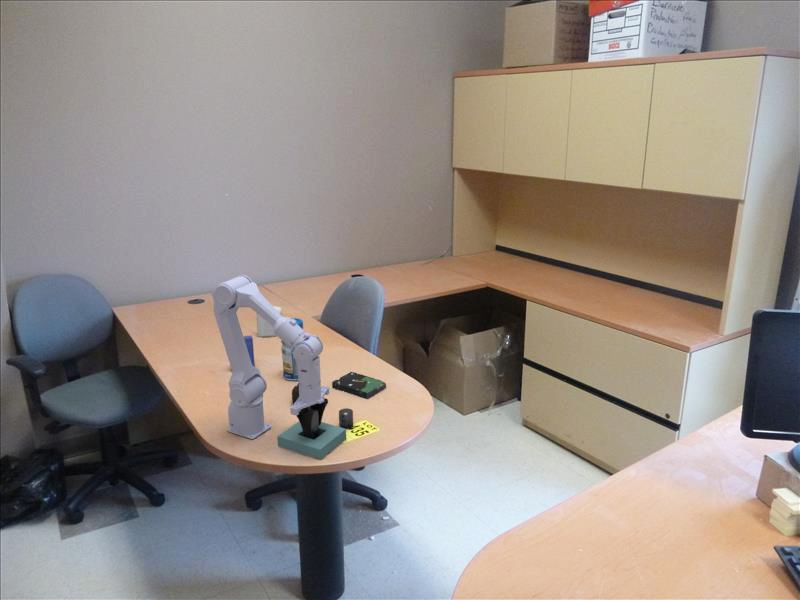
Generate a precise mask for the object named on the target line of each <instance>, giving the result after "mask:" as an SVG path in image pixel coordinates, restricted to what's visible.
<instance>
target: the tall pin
mask: <svg viewBox="0 0 800 600" xmlns="http://www.w3.org/2000/svg"><path fill="white" fill-rule="evenodd" d="M308 408H309V410H312V411H314V413H313V416H312V421H311V432H310V433H307V432H304V437H307V438H310V439H313V440H315V439H316V438H317V437H319V416H318V408H317V407H314V406H309V407H308Z"/></svg>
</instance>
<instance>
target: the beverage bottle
mask: <svg viewBox="0 0 800 600" xmlns="http://www.w3.org/2000/svg"><path fill="white" fill-rule="evenodd" d="M290 318H291V319H294V320H295V321H296V324H297V325H299V326H300V327H301V328H302V329H303V330H304V321H303V319H301V318H297V317H293V318H292V317H290ZM280 341H281V342H280V343H282V345H281V346H280V347H281V348H280V349H281V357H282V370H283V373H282V374H283V378H284V379H285V380H287V381H292V382H293V381H296V382H297V381H299V379H298V367H297V361H296V360H295V359H294V357H293V354H292V352H293V350H292V349H291V348H289V347H288V346H287V345H286V344H285V343H284V342H283V341H282V340H281V339H280Z"/></svg>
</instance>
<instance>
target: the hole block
mask: <svg viewBox="0 0 800 600" xmlns="http://www.w3.org/2000/svg"><path fill="white" fill-rule="evenodd" d="M276 439H277V446H278V447H280V448H283V449H286V450H289V451H292V452H296V453H298V454H302V455H304V456H307V457H310V458H314V459H317V460H320V461H321V460H322V459H324V457H326V456H327V455H328V454H330V453H331V452H332V451H333V450H334V449H336V448H337V447H338V446H340V444H342V443H343V442H344V441H345V440H347V429H344V428H341V427H339V426H338V425H333V424H331V423H330V424H329V423H326V422H324V421H323V422H322V421H321V425H319V437H317V438H316V439H315V440H313V439H310V438H307V437H304V432H303V429H302V427H301V424H300V421H299V420H298V421H297V422H296V423H294V424H293V425H292V426H290V427H288V428H287V429H286V430H283V432H282V433H280V434H278V435H277V438H276Z"/></svg>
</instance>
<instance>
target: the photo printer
mask: <svg viewBox="0 0 800 600" xmlns="http://www.w3.org/2000/svg"><path fill="white" fill-rule="evenodd" d="M272 306H273V307H274V308H275V309H276V310H277V311H278V312H279V313H280V314H281V316H282V317H284V316H283V310H282V307H280V306H275V305H272ZM256 327H257V328H256V330H257V331H256V332H257V336H258V337H259V338H262V337H263V338H264V337H278V336H277V335H276V334H275V333H274V327H273V326H272V325H271V324H270V323H269V322H267V321H266V320H265V319H264V318H263V317H261V316H260V315H259V314H258V313H256Z"/></svg>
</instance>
